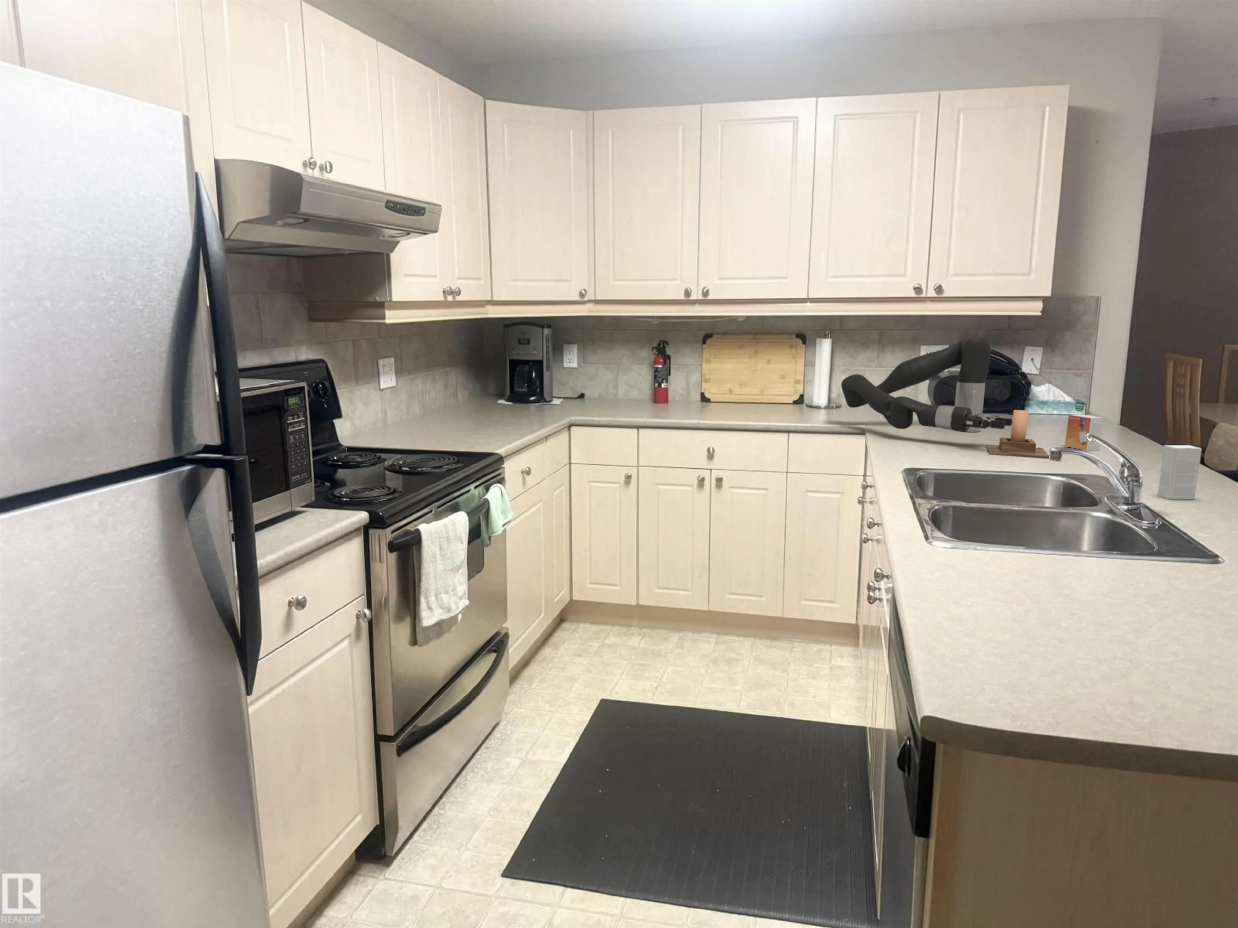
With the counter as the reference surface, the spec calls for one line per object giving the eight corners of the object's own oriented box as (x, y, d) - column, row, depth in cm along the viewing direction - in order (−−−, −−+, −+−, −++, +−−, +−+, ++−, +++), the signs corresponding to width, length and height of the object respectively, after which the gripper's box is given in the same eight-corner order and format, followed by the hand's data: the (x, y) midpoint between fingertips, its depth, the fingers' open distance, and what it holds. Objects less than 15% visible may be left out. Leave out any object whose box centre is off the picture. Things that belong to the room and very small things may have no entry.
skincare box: (1181, 495, 186) (1189, 445, 184) (1194, 499, 182) (1203, 448, 180) (1155, 495, 186) (1163, 444, 184) (1168, 499, 182) (1176, 447, 180)
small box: (1063, 447, 253) (1067, 414, 251) (1076, 446, 255) (1081, 413, 253) (1086, 451, 246) (1090, 417, 244) (1099, 450, 248) (1104, 417, 246)
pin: (1008, 448, 245) (1013, 409, 242) (1023, 449, 243) (1027, 410, 241) (1009, 450, 241) (1014, 411, 239) (1024, 451, 240) (1029, 412, 237)
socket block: (985, 446, 252) (986, 435, 252) (1042, 450, 247) (1043, 438, 246) (989, 454, 238) (990, 442, 237) (1049, 458, 232) (1051, 446, 232)
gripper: (958, 427, 259) (1012, 433, 249) (944, 432, 248) (1000, 438, 238) (961, 404, 258) (1015, 409, 248) (947, 408, 247) (1003, 413, 237)
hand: (1008, 423), depth 243 cm, fingers open, 8 cm apart
